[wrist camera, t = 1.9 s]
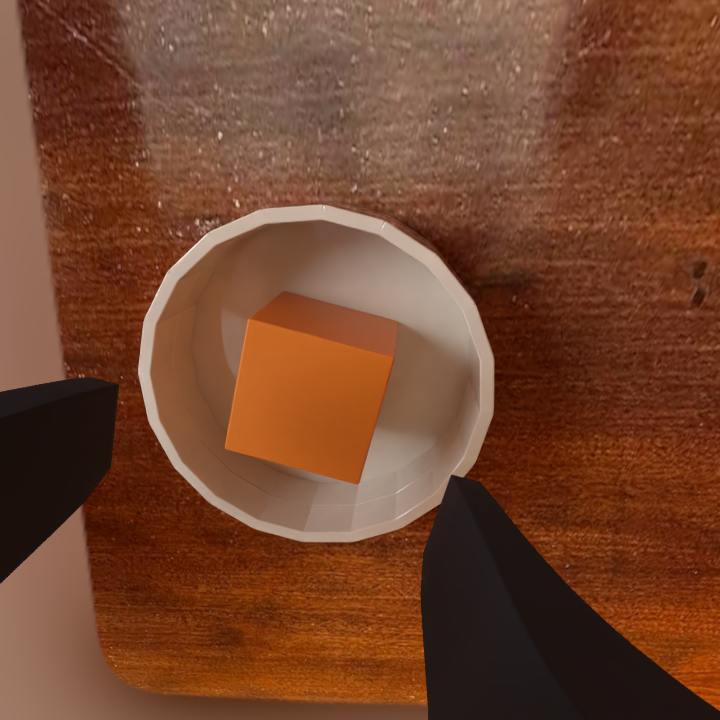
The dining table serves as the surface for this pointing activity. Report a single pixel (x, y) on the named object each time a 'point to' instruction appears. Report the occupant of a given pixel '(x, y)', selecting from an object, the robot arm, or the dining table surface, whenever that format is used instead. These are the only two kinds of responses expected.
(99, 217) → the dining table surface
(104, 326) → the dining table surface
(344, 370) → the block
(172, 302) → the bowl
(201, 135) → the dining table surface
